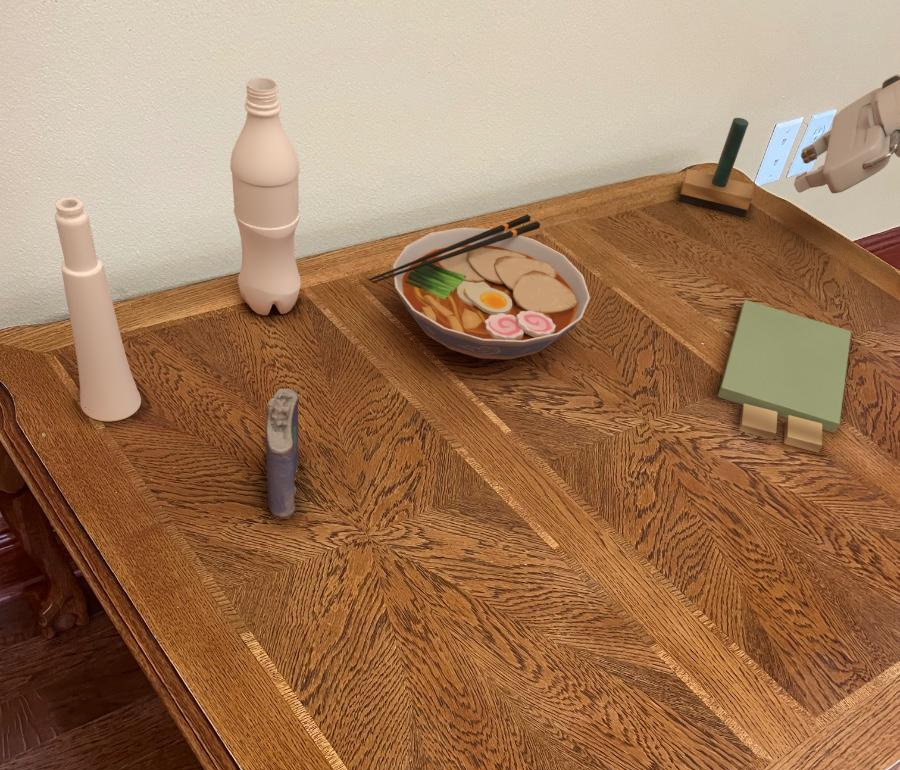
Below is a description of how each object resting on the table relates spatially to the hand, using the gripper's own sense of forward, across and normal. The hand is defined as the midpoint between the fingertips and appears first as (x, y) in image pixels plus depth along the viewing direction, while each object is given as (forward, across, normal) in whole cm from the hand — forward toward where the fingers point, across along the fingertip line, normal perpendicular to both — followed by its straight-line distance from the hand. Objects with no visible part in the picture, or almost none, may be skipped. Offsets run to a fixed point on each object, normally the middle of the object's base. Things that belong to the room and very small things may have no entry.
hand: (799, 171), depth 133 cm
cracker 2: (0, -49, -11) cm, 50 cm away
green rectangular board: (+2, -36, -9) cm, 37 cm away
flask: (+34, -82, +23) cm, 92 cm away
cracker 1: (+3, -49, -8) cm, 49 cm away
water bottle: (+45, -55, +34) cm, 78 cm away
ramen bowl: (+27, -48, +16) cm, 58 cm away
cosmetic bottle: (+49, -78, +38) cm, 100 cm away
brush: (+12, 0, +2) cm, 13 cm away
